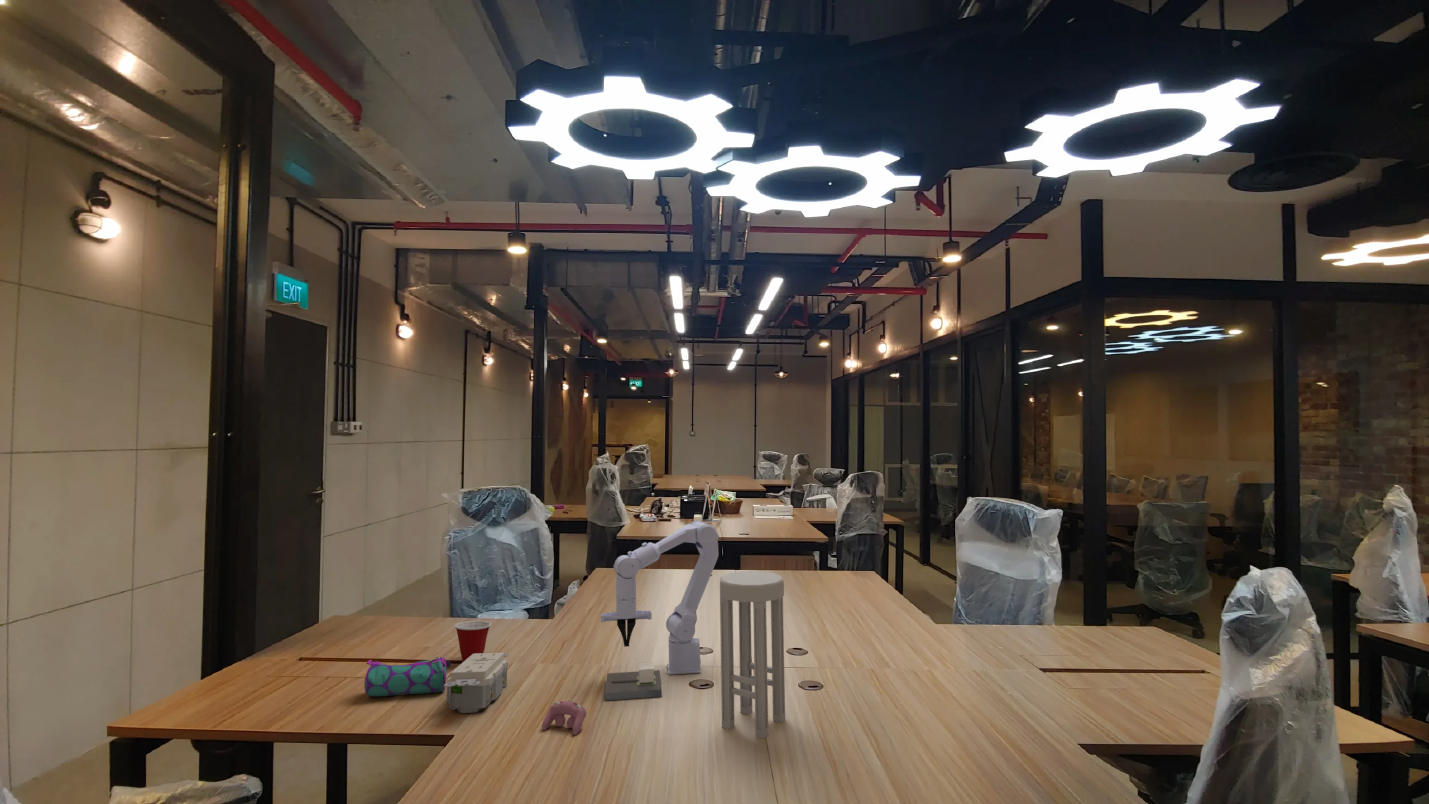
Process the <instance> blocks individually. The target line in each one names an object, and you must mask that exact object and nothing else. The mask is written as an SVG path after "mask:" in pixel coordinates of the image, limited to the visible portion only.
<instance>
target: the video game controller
mask: <svg viewBox="0 0 1429 804" xmlns="http://www.w3.org/2000/svg"><path fill="white" fill-rule="evenodd" d="M565 715H568V716H570V717H568V719H567V720H566V716H565ZM586 716H587V710H586V708H585V707H584V706H582V705H581V704H579V703H578V702H575V701H572V700H562V701H557V702H553V704H552V705H551V706H550V707H549V709H548V711H547V712H546V715H545V717H544V718H543V721H542V723H541V728H542V730H543V731H546V730H547V728H548V729H549V727H550V726H551V725H552V724H553V722H554V724H555V725H556V726H557V727H563V726H565V724H566V726H567V728H569V729H572V734H573V735H574V736H576V735H578V733H579V732H580V731H581V729H582V727H583V724H584V721H585V718H587V717H586Z"/></svg>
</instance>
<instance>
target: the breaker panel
mask: <svg viewBox="0 0 1429 804" xmlns="http://www.w3.org/2000/svg"><path fill="white" fill-rule="evenodd" d="M606 674H607V675H606V682H605V690H604V701H605V700H609V701H621V700H623V699H625V700H636V699H637V700H638V699H651V698H662V695H663V688H662V680H661V670H655V669H654V682H644V683H639V671H625V672H623V671H622V672H608V673H606ZM623 701H624V700H623Z"/></svg>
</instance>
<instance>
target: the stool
mask: <svg viewBox="0 0 1429 804" xmlns="http://www.w3.org/2000/svg"><path fill="white" fill-rule="evenodd" d="M784 596H785V582H784V579H783V576H782V575H780V574H777V573H774V572H770V571H769V572H767V571H761V570H751V571H750V570H749V571H747V570H742V571H736V572H729V573H726V574H723V575H721V576H720V579H719V613H720V614H719V618H720V619H719V622H720V630H719V631H720V684H721V685H720V686H721V687H720V688H721V689H720V690H721V692H720V693H721V695H720V697H721V728H722V729H727V730H730V729H732V728H733V727H735V726H736V725H735V695H736V696H739V698H740V699H739V705H740V706H739V707H740V714H743V715H747V716H749V715H750V714H752V712H753V700H754V718H755V719H754V723H755V724H754V726H755V727H754V728H755V729H754V730H755V735H754V736H755V737H756V738H760V739H763V740H764V739H765V738H766V737H767V736H768V735H769V697H768V696H769V693H768V692H769V691H768V689H769V688H768V687H771V689H772V721H773V722H775V723H777V724H782V723H783V722H785V721H786V695H785V694H786V692H785V691H786V689H785V688H786V687H785V685H786V684H785V640H784V639H785V637H784V636H785V635H784V634H785V633H784V632H785V631H784ZM733 602H738V629H739V630H738V633H739V634H738V635H739V636H738V637H739V638H738V640H739V642H738V643H739V645H738V646H739V649H738V650H739V675H738V674H735V669H734V668H735V665H734V664H735V663H734V610H733V609H734V605H733ZM767 602H770V620H771V621H770V625H771V627H770V630H771V632H770V634H771V636H770V637H771V666H769V665H768V642H767V639H768V633H767V629H768V628H767ZM751 603H753V604H752V605H751ZM751 606H753V614H752V613H751V612H752V610H751V609H752V607H751ZM752 615H753V656H754V657H753V658H754V659H753V662H752ZM753 670H754V673H753ZM753 674H754V675H753ZM768 674H771V679H770V678H768ZM735 682H736V683H739V688H738V687H735ZM753 687H754V691H753Z"/></svg>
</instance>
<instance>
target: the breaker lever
mask: <svg viewBox="0 0 1429 804" xmlns="http://www.w3.org/2000/svg"><path fill="white" fill-rule="evenodd" d="M654 671H655V669H654V662H639V664H638V672H639V683H644V682H654Z"/></svg>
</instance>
